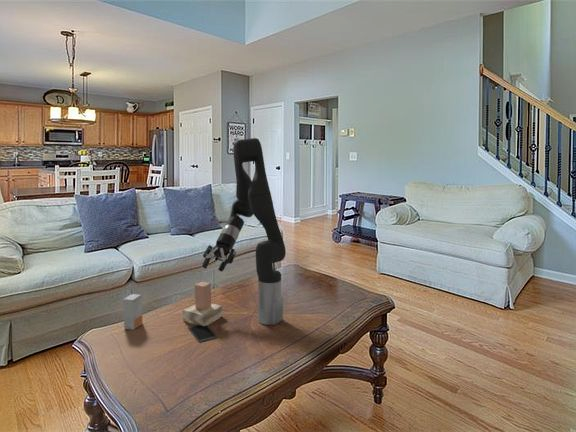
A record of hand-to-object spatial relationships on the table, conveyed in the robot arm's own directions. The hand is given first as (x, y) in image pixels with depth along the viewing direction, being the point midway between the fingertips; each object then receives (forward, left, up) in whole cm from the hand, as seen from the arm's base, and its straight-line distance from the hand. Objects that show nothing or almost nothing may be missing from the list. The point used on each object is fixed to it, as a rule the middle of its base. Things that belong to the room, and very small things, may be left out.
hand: (211, 269), depth 158 cm
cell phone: (-9, +17, -20) cm, 27 cm away
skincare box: (+18, +26, -19) cm, 37 cm away
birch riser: (-1, +7, -19) cm, 21 cm away
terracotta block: (-1, +7, -14) cm, 16 cm away
